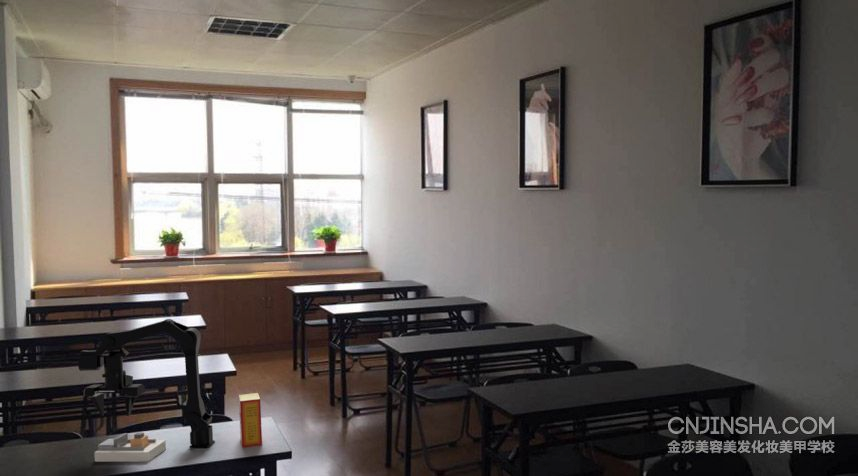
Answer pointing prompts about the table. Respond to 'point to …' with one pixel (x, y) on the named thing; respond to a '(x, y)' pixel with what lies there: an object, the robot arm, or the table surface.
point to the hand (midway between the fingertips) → (115, 415)
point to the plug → (139, 440)
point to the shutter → (115, 441)
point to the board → (130, 452)
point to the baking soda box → (250, 420)
